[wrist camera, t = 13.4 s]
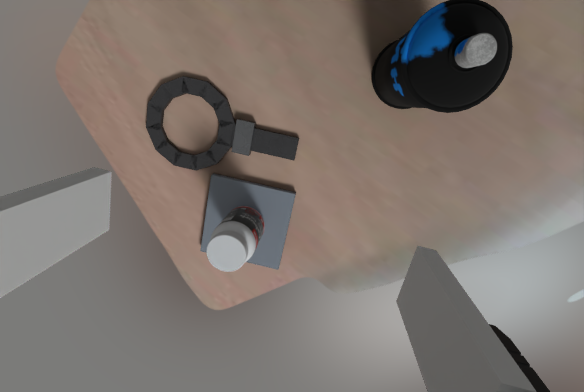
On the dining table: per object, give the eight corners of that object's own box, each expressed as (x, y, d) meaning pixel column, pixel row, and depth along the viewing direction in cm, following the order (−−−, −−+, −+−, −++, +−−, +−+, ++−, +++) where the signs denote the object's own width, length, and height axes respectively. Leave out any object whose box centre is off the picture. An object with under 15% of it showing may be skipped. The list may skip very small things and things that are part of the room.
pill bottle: (273, 227, 46) (261, 259, 37) (243, 249, 48) (224, 285, 38) (247, 196, 45) (228, 221, 36) (218, 219, 47) (191, 249, 37)
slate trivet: (213, 173, 46) (211, 174, 45) (296, 192, 45) (295, 194, 44) (202, 248, 49) (200, 251, 48) (279, 266, 49) (278, 269, 48)
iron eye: (152, 69, 43) (149, 68, 42) (306, 103, 42) (306, 104, 41) (145, 157, 46) (142, 158, 45) (287, 190, 45) (287, 192, 45)
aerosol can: (453, 55, 39) (579, 9, 20) (418, 119, 41) (501, 134, 22) (391, 26, 39) (459, -48, 20) (360, 92, 41) (393, 84, 22)
